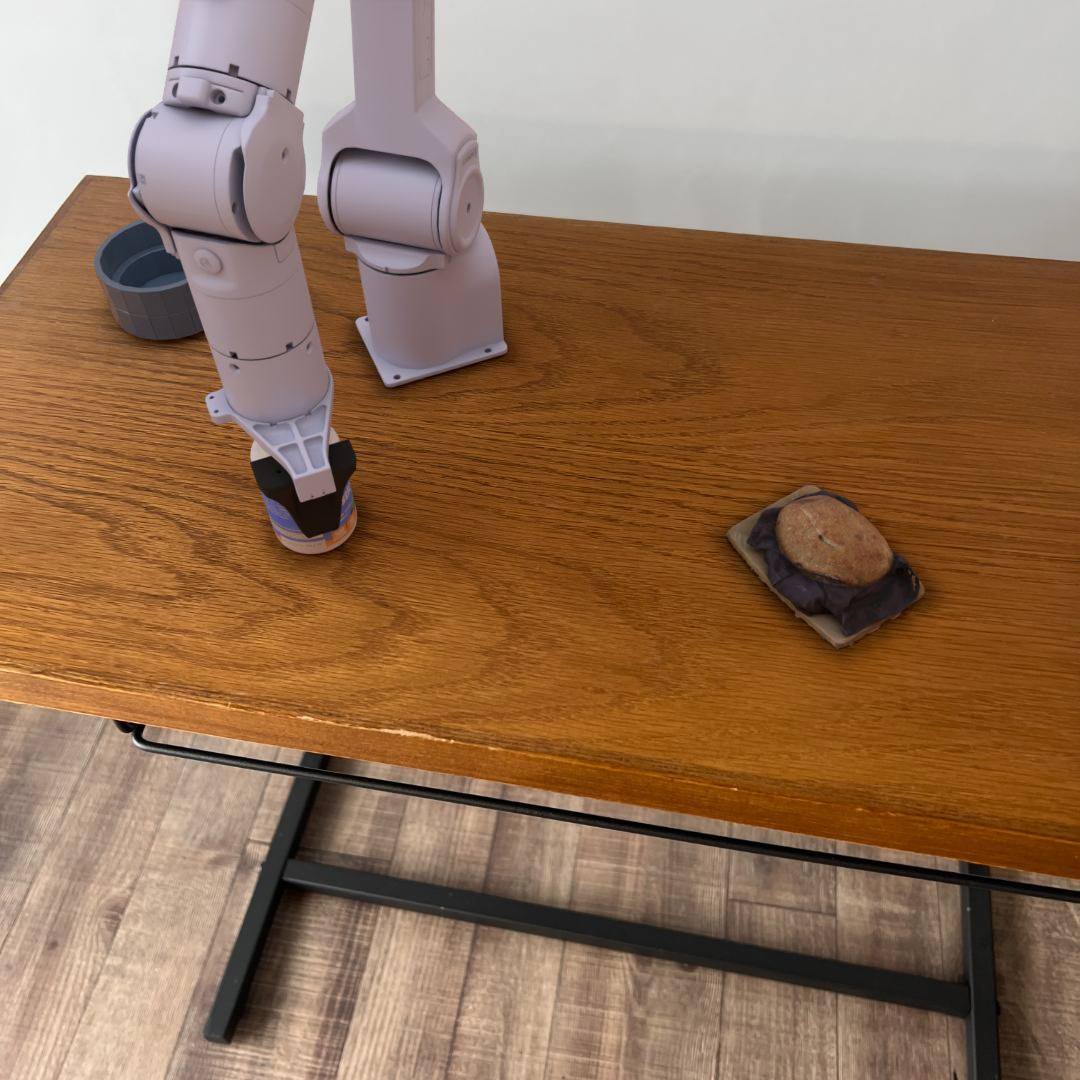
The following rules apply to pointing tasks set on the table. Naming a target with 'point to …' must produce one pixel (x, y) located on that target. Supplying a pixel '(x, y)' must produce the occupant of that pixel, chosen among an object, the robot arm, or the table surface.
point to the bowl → (146, 284)
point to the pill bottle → (290, 531)
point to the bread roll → (827, 564)
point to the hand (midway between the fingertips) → (308, 494)
